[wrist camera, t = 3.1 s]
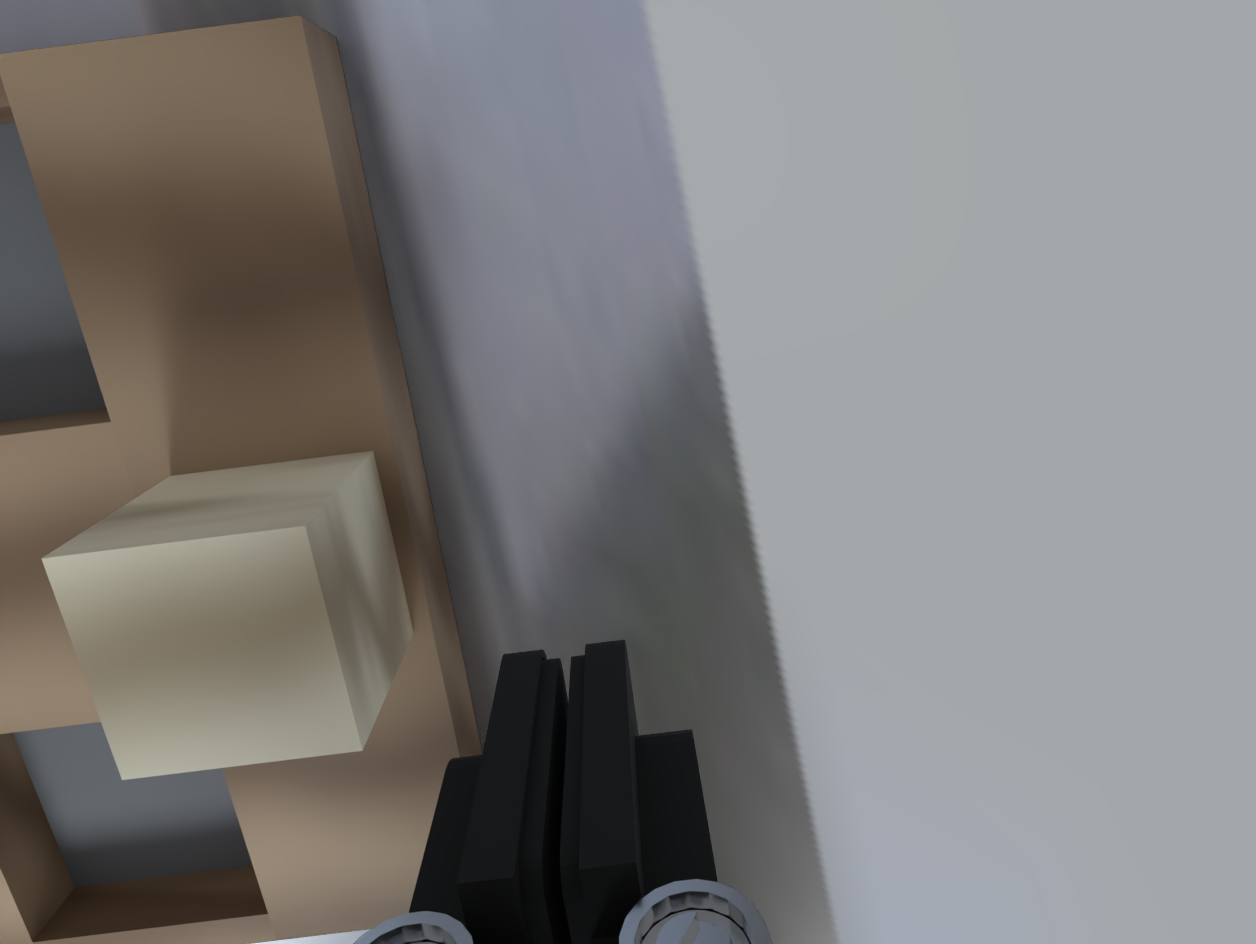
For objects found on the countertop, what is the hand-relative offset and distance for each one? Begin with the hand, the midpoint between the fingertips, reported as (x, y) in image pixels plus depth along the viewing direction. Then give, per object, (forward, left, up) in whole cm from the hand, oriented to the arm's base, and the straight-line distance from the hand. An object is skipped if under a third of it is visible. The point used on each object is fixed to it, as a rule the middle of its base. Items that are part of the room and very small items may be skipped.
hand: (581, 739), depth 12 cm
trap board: (-1, +15, -13) cm, 20 cm away
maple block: (-1, +8, -10) cm, 13 cm away
